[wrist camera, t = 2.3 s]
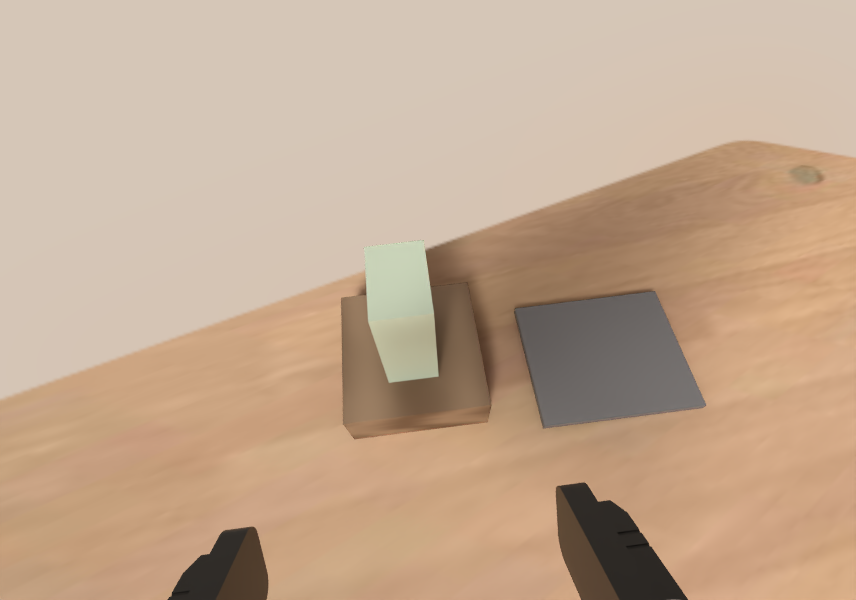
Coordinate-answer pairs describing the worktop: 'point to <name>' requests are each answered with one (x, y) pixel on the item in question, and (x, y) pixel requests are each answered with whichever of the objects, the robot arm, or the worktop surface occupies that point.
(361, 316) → the brown rectangular box
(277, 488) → the worktop surface
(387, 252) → the pale green rectangular block
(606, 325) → the mat
